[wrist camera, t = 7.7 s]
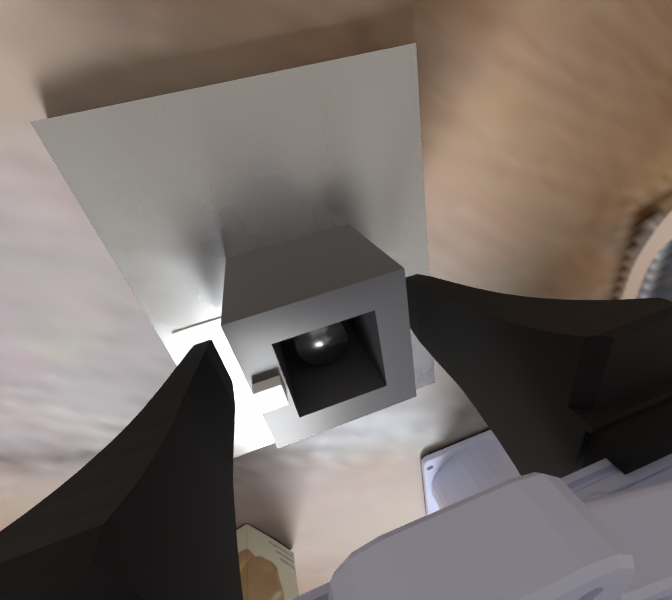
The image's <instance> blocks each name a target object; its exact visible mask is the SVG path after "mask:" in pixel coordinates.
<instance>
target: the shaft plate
mask: <svg viewBox="0 0 672 600" xmlns="http://www.w3.org/2000/svg"><path fill="white" fill-rule="evenodd" d="M30 123H31V124H32V126H33V128H34V129H35V131H36V133H37V134H38V136H39V137H40V139H41V141H42V142H43V144H44V146H45V147H46V149H47V151H48V152H49V154H50V156H51V157H52V159H53V161H54V162H55V164H56V166H57V167H58V169H59V171H60V172H61V174H62V176H63V177H64V179H65V181H66V182H67V184H68V186H69V187H70V189H71V191H72V192H73V194H74V196H75V197H76V199H77V201H78V202H79V204H80V205H81V207H82V209H83V210H84V212H85V214H86V215H87V217H88V219H89V220H90V222H91V224H92V225H93V227H94V229H95V230H96V232H97V234H98V235H99V237H100V239H101V240H102V242H103V244H104V245H105V247H106V249H107V250H108V252H109V254H110V255H111V257H112V259H113V260H114V262H115V264H116V265H117V267H118V269H119V270H120V272H121V274H122V275H123V277H124V278H125V280H126V282H127V283H128V285H129V287H130V288H131V290H132V292H133V293H134V295H135V297H136V298H137V300H138V302H139V303H140V305H141V307H142V308H143V310H144V312H145V313H146V315H147V317H148V318H149V320H150V322H151V323H152V325H153V327H154V328H155V330H156V332H157V333H158V335H159V337H160V338H161V340H162V342H163V343H164V345H165V346H166V348H167V350H168V351H169V353H170V355H171V356H172V358H173V360H174V361H175V363H176V365H177V366H178V365H179V363H180V362H181V361H182V359H183V358H184V357H185V355H186V354H187V353H188V351H189V350H190V349H191V348H192V346H193V345H195V344H198V343H201V342H204V341H207V340H210V339H212V341H213V343H214V345H215V347H216V349H217V351H218V353H219V355H220V357H221V359H222V361H223V363H224V365H225V367H226V369H227V371H228V373H229V375H230V377H231V379H232V381H233V387H234V395H235V432H234V453H233V458H235V457H238V456H240V455H243V454H246V453H248V452H251V451H254V450H256V449H259V448H262V447H264V446H267V445H270V444H272V443H275V442H274V439H273V437H272V435H271V433H270V431H269V429H268V427H267V424H266V422H265V420H264V418H263V416H262V414H261V412H260V409H259V407H258V405H257V403H256V401H255V399H254V397H253V395H252V392H251V390H250V388H249V386H248V384H247V382H246V380H245V377H244V375H243V373H242V371H241V369H240V367H239V365H238V362H237V360H236V358H235V356H234V354H233V352H232V350H231V347H230V345H229V343H228V341H227V339H226V337H225V335H224V332H223V330H222V328H221V326H220V325H221V312H222V300H223V288H224V275H225V263H226V258H230V257H233V256H237V255H240V254H244V253H247V252H251V251H254V250H258V249H261V248H265V247H269V246H272V245H276V244H279V243H283V242H286V241H290V240H293V239H297V238H300V237H304V236H307V235H311V234H314V233H318V232H322V231H325V230H329V229H332V228H336V227H339V226H343V225H346V224H349V225H350V226H352V227H353V228H354V229H355V230H357V231H358V232H359V233H361V234H362V235H363V236H364V237H366V238H367V239H368V240H369V241H371V242H372V243H373V244H374V245H376V246H377V247H378V248H380V249H381V250H382V251H383V252H385V253H386V254H387V255H388V256H390V257H391V258H392V259H393V260H395V261H396V262H397V263H398V264H400V265H401V266H402V267H404V268H405V277H408V276H412V275H415V274H421V275H426V276H429V271H428V253H427V234H426V216H425V197H424V179H423V160H422V141H421V123H420V104H419V86H418V67H417V49H416V43H412V44H407V45H403V46H398V47H393V48H388V49H383V50H378V51H373V52H369V53H364V54H359V55H354V56H349V57H344V58H339V59H334V60H330V61H325V62H320V63H315V64H310V65H305V66H300V67H296V68H291V69H286V70H281V71H276V72H271V73H266V74H261V75H257V76H252V77H247V78H242V79H237V80H232V81H227V82H223V83H218V84H213V85H208V86H203V87H198V88H193V89H189V90H184V91H179V92H174V93H169V94H164V95H159V96H154V97H150V98H145V99H140V100H135V101H130V102H125V103H120V104H116V105H111V106H106V107H101V108H96V109H91V110H86V111H81V112H77V113H72V114H67V115H62V116H57V117H52V118H47V119H43V120H38V121H33V122H30ZM410 332H411V342H412V353H413V364H414V374H415V385H416V389H419V388H421V387H424V386H427V385H429V384H432V383H435V382H434V364H433V356H432V355H431V354H430V353H429V352H428V351H427V350H426V349H425V348H424V346H423V345H422V344H421V343H420V342H419V340H418V339H417V337H416V336H415V335H414V333H413V332H412V330H411V328H410ZM293 340H294V343H295V347H296V350H297V353H298V355H299V357H300V358H301V359H302V360H303V361H305V362H307V363H309V364H314V365H321V364H326V363H329V362H331V361H333V360H335V359H336V358H338V357H339V356H340V355H341V354H342V352H343V351H344V349H345V347H346V345H347V333H346V331H345V329H344V327H343V325H342V324H341V322H338V323H334V324H331V325H328V326H325V327H322V328H319V329H316V330H313V331H310V332H307V333H304V334H301V335H298V336H295V337H293Z"/></svg>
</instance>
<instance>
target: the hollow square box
mask: <svg viewBox="0 0 672 600" xmlns="http://www.w3.org/2000/svg"><path fill="white" fill-rule="evenodd" d="M338 322H341V324H342V325H343V327H344V329H345V331H346V333H347V345H346V347H345V349H344V351H343V352H342V354H341V355H340V356H339V357H338V358H336V359H335V360H333V361H331V362H329V363H326V364H321V365H314V364H309V363H307V362H305V361H303V360H302V359H301V358H300V357H299V355H298V353H297V350H296V347H295V343H294V340H293V337H295V336H298V335H301V334H304V333H307V332H310V331H313V330H316V329H319V328H322V327H325V326H328V325H331V324H334V323H338ZM220 326H221V328H222V330H223V332H224V335H225V337H226V339H227V341H228V343H229V345H230V347H231V350H232V352H233V354H234V356H235V358H236V360H237V362H238V365H239V367H240V369H241V371H242V373H243V375H244V377H245V380H246V382H247V384H248V386H249V388H250V390H251V392H252V395H253V397H254V399H255V401H256V403H257V405H258V407H259V409H260V412H261V414H262V416H263V418H264V420H265V422H266V424H267V427H268V429H269V431H270V433H271V435H272V437H273V439H274V442H275V444H276V446H277V448H281V447H283V446H286V445H289V444H291V443H294V442H297V441H299V440H302V439H305V438H307V437H310V436H313V435H315V434H318V433H321V432H323V431H326V430H329V429H331V428H334V427H336V426H339V425H342V424H344V423H347V422H350V421H352V420H355V419H358V418H360V417H363V416H366V415H368V414H371V413H374V412H376V411H379V410H381V409H384V408H387V407H389V406H392V405H395V404H397V403H400V402H403V401H405V400H408V399H411V398H413V397H416V385H415V374H414V364H413V353H412V342H411V332H410V321H409V311H408V300H407V289H406V279H405V268H404V267H402V266H401V265H400V264H398V263H397V262H396V261H395V260H393V259H392V258H391V257H390V256H388V255H387V254H386V253H385V252H383V251H382V250H381V249H380V248H378V247H377V246H376V245H374V244H373V243H372V242H371V241H369V240H368V239H367V238H366V237H364V236H363V235H362V234H361V233H359V232H358V231H357V230H355V229H354V228H353V227H352V226H350V225H349V224H346V225H343V226H339V227H336V228H332V229H329V230H325V231H322V232H318V233H314V234H311V235H307V236H304V237H300V238H297V239H293V240H290V241H286V242H283V243H279V244H276V245H272V246H269V247H265V248H261V249H258V250H254V251H251V252H247V253H244V254H240V255H237V256H233V257H230V258H226V263H225V275H224V288H223V300H222V312H221V325H220Z"/></svg>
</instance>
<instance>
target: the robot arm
mask: <svg viewBox="0 0 672 600" xmlns="http://www.w3.org/2000/svg"><path fill="white" fill-rule="evenodd" d="M405 279H406V289H407V300H408V311H409V321H410V328H411V330H412V332H413V333H414V335H415V336H416V337H417V339H418V340H419V342H420V343H421V344H422V345H423V346H424V348H425V349H426V350H427V351H428V352H429V353H430V354H431V355H432V356H433V358H434V359H435V360H436V361H437V362H438V363H439V364H440V365H441V366H442V367H443V369H444V370H445V371H446V372H447V373H448V374H449V375H450V376H451V377H452V378H453V380H454V381H455V382H456V383H457V384H458V385H459V386H460V388H461V389H462V390H463V391H464V393H465V394H466V395H467V397H468V398H469V399H470V401H471V402H472V404H473V405H474V406H475V408H476V409H477V410H478V412H479V413H480V415H481V416H482V417H483V419H484V420H485V422H486V423H487V425H488V426H489V428H490V430H488V431H485V432H483V433H481V434H478V435H476V436H473V437H471V438H468V439H466V440H463V441H461V442H459V443H456V444H454V445H451V446H449V447H446V448H444V449H442V450H439V451H437V452H434V453H432V454H429V455H427V456H425V457H424V458H423V459H422V461H421V464H422V474H423V484H424V494H425V504H426V513H427V516H424V517H422V518H420V519H417V520H415V521H413V522H411V523H408V524H406V525H404V526H401V527H399V528H397V529H395V530H392V531H390V532H388V533H385V534H383V535H381V536H379V537H377V538H375V539H374V540H372V541H370V542H369V543H367V544H365V545H364V546H362V547H360V548H359V549H357V550H355V551H354V552H352V553H351V554H350V555H349V556H348V557H347V559H346V560H345V561H344V562H343V563H342V564H341V565H340V566H339V568H338V569H337V570H336V571H335V572H334V574H333V576H332V578H331V580H330V582H329V583H326V584H324V585H322V586H320V587H317V588H315V589H313V590H311V591H308V592H306V593H304V594H302V595H300V596H297V597H295V598H293V599H291V600H672V302H671V301H669V300H666V299H662V298H645V299H625V300H560V299H545V298H533V297H524V296H517V295H509V294H503V293H497V292H492V291H487V290H482V289H477V288H473V287H469V286H465V285H461V284H457V283H453V282H449V281H446V280H442V279H438V278H434V277H430V276H426V275H421V274H415V275H412V276H408V277H405ZM234 432H235V395H234V387H233V381H232V379H231V377H230V375H229V373H228V371H227V369H226V367H225V365H224V363H223V361H222V359H221V357H220V355H219V353H218V351H217V349H216V347H215V345H214V343H213V341H212V339H210V340H207V341H204V342H201V343H198V344H195V345H193V346H192V348H191V349H190V350H189V351H188V353H187V354H186V355H185V357H184V358H183V359H182V361H181V362H180V363H179V365H178V366H177V367H176V369H175V370H174V371H173V372H172V374H171V375H170V376H169V378H168V379H167V380H166V382H165V383H164V384H163V386H162V387H161V388H160V389H159V390H158V392H157V393H156V394H155V395H154V396H153V398H152V399H151V400H150V401H149V402H148V403H147V405H146V406H145V407H144V408H143V409H142V411H141V412H140V413H139V414H138V415H137V416H136V417H135V418H134V419H133V420H132V421H131V423H130V424H129V425H128V426H127V427H126V428H125V429H124V430H123V431H122V432H121V433H120V434H119V435H118V436H117V437H116V438H115V439H114V440H113V441H112V442H111V443H109V444H108V445H107V446H106V447H105V448H104V449H103V450H102V451H101V452H99V453H98V454H97V455H96V456H95V457H94V458H93V459H92V460H91V461H89V462H88V463H87V464H86V465H85V466H84V467H83V468H82V469H81V470H79V471H78V472H77V473H76V474H75V475H73V476H72V477H71V478H70V479H69V480H67V481H66V482H65V483H64V484H62V485H61V486H60V487H59V488H58V489H56V490H55V491H54V492H53V493H51V494H50V495H49V496H47V497H46V498H45V499H44V500H42V501H41V502H40V503H38V504H37V505H36V506H35V507H33V508H32V509H31V510H29V511H28V512H27V513H25V514H24V515H23V516H21V517H20V518H18V519H17V520H16V521H14V522H13V523H11V524H10V525H9V526H7V527H6V528H4V529H3V530H2V531H0V600H243V593H242V585H241V575H240V565H239V555H238V545H237V533H236V521H235V508H234V492H233V453H234Z"/></svg>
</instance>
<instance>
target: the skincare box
mask: <svg viewBox="0 0 672 600" xmlns="http://www.w3.org/2000/svg"><path fill="white" fill-rule="evenodd" d="M236 533H237V545H238V555H239V565H240V575H241V585H242V593H243V600H291V599H293V598H295V597H297V596H299V595H298V587H297V578H296V571H295V562H294V554H293V552H292V551H290V550H289V549H287V548H286V547H284V546H283V545H281V544H280V543H278V542H277V541H275V540H274V539H272V538H270V537H269V536H267V535H265V534H264V533H262V532H260V531H258V530H257V529H255V528H253V527H252V526H250V525H248V524H246V525H244V526H242V527H241V528H239V529H237V530H236Z"/></svg>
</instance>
